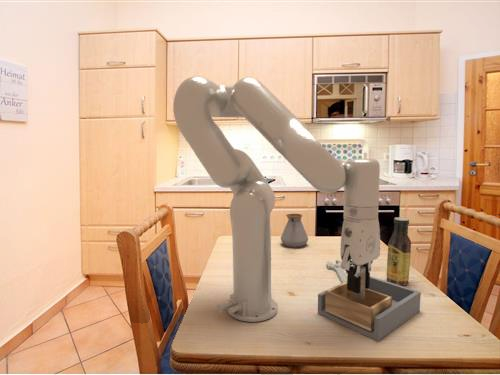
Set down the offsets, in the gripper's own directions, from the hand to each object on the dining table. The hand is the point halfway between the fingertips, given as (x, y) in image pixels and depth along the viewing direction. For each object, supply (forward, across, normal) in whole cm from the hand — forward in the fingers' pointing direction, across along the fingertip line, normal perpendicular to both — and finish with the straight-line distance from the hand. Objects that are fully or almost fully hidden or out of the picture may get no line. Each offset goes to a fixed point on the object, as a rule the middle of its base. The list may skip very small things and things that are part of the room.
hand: (358, 288), depth 79 cm
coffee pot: (+8, +30, +48) cm, 58 cm away
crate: (+6, 0, 0) cm, 6 cm away
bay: (+8, +5, 0) cm, 9 cm away
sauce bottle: (+8, +28, +4) cm, 30 cm away
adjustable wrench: (+8, +19, +18) cm, 28 cm away
